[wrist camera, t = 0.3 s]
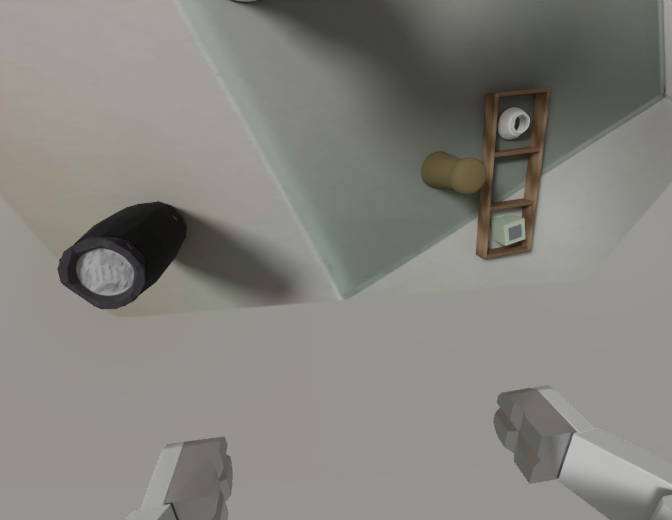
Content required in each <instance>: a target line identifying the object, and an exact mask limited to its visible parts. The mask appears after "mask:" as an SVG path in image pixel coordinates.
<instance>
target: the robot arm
mask: <svg viewBox="0 0 672 520" xmlns="http://www.w3.org/2000/svg"><path fill="white" fill-rule="evenodd" d="M236 1H244V2H249V1H256V0H236ZM497 403H498V404H499V406H500V408H499V409H498V410H497V412H496V413H495V415H494V426H495V430H496V433H497V435H498V438H499V439H500V441H501V442H502V444H503V446H504V447H506V448H507V449H509V450H510V451H512V452H513V453H514V462H515V463H516V465H517V466H518V467H519V469H520V470H521V472H522V473H523V475H524V476H525V478H526V479H527V481H528V482H529V483H536V482H542V481H549V480H555V479H558V481H559V482H560V483H561V484H563V485H564V486H566V487H567V488H568V489H570V490H571V491H572V492H574V493H575V494H576V495H578V496H579V497H580V498H582V499H583V500H584V501H586V502H587V503H588V504H590V505H591V506H592V507H594V508H595V509H596V510H598V511H599V512H600V513H602V514H603V515H604V516H606V517H607V518H609V519H610V520H672V463H670V462H668V461H666V460H664V459H662V458H659V457H657V456H655V455H653V454H651V453H649V452H647V451H645V450H643V449H641V448H639V447H637V446H635V445H633V444H631V443H629V442H627V441H625V440H623V439H621V438H619V437H617V436H615V435H612V434H610V433H608V432H606V431H604V430H602V429H594V428H593V426H591V425H590V424H589V423H588V422H587V421H586V420H585V419H584V418H583V417H582V416H581V415H580V414H579V413H578V412H577V411H576V410H575V409H574V408H573V407H572V406H571V405H570V404H569V403H568V402H567V401H566V400H565V399H564V398H563V397H562V396H561V395H560V394H559V393H558V392H557V391H556V390H555V389H554V388H552V387H550V386H548V385H547V386H541V387H534V388H526V389H520V390H515V391H509V392H503V393H501V394H500V395H499V396H498V399H497ZM226 451H227V442H226V439H225V437H218V438H210V439H202V440H195V441H187V442H181V443H173V444H167V445H166V446H165V447H164V449H163V450H162V452H161V455H160V458H159V461H158V463H157V466H156V468H155V471H154V474H153V477H152V479H151V482H150V485H149V487H148V490H147V492H146V495H145V498H144V500H143V503H142V506H141V508H140V509H138V510H134V511H133V512H132V513H131V514H130V515H129V516H128V517H127V518H126V519H125V520H227V518H228V510H227V507H226V503H225V502H226V501H227V499H228V498H229V497H230V495H231V489H232V474H233V473H232V472H233V471H232V462H231V458H230V456H229V455H227V454H226Z"/></svg>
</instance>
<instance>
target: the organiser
mask: <svg viewBox="0 0 672 520" xmlns="http://www.w3.org/2000/svg"><path fill="white" fill-rule="evenodd" d="M535 93H536V96H535V104H534V113H533V122H532V131H531V140H530V147H526V148H519V149H511V150H503V151H495V141H496V127H497V114H498V101H499V97H506V96H516V95H525V94H535ZM550 93H551V87H547V88H538V89H528V90H518V91H508V92H498V93H491V94H486V101H485V117H484V133H483V149H482V163H483V164H484V166H485V168H486V173H487V176H486V181H485V183H484V185H483V186H482V187H481V188H480V198H479V214H478V231H477V247H476V255H478V256H479V257H481V258H483V259H487V258H493V257H498V256H504V255H510V254H515V253H521V252H527V251H530V250H531V243H532V235H533V227H534V219H535V211H536V203H537V195H538V187H539V180H540V172H541V164H542V156H543V148H544V140H545V132H546V124H547V116H548V109H549V101H550ZM523 153H529V158H528V167H527V176H526V185H525V194H524V198H523V199H517V200H510V201H503V202H497V203H491V194H492V181H493V167H494V157H500V156H508V155H516V154H523ZM518 206H523V212H522V218H524V219H525V238H526V239H524V240H521V241H519V244H518V245H512V246H506V247H501V248H495V249H489V250H487V248H488V234H489V221H490V211H492V210H499V209H505V208H512V207H518Z"/></svg>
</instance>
